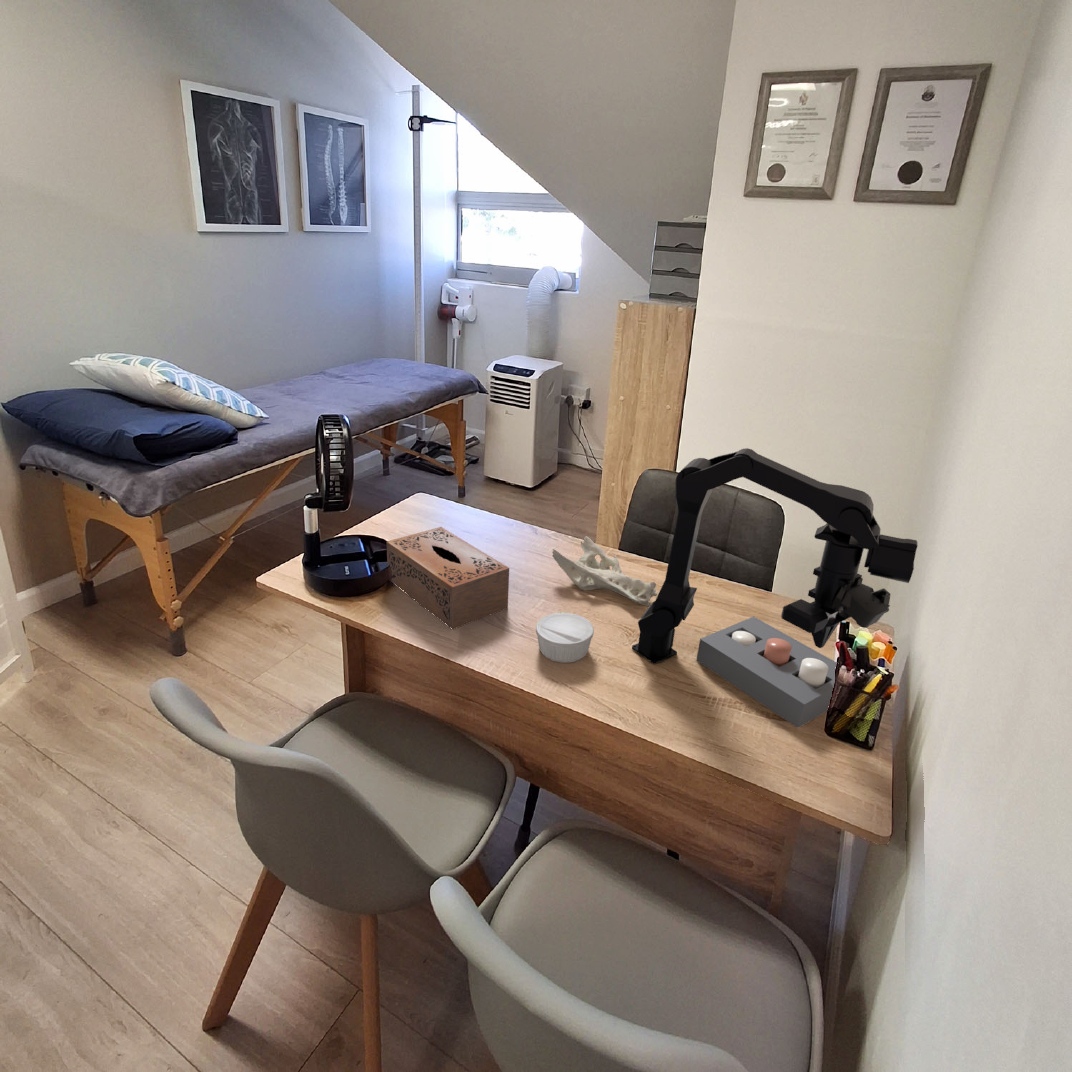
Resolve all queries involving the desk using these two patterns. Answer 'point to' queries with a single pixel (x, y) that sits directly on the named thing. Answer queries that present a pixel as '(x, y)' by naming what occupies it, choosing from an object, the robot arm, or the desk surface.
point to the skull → (604, 574)
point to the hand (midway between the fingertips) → (819, 646)
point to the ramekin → (564, 636)
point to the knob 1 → (744, 638)
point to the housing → (768, 671)
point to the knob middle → (777, 651)
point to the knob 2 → (813, 672)
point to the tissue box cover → (448, 576)
